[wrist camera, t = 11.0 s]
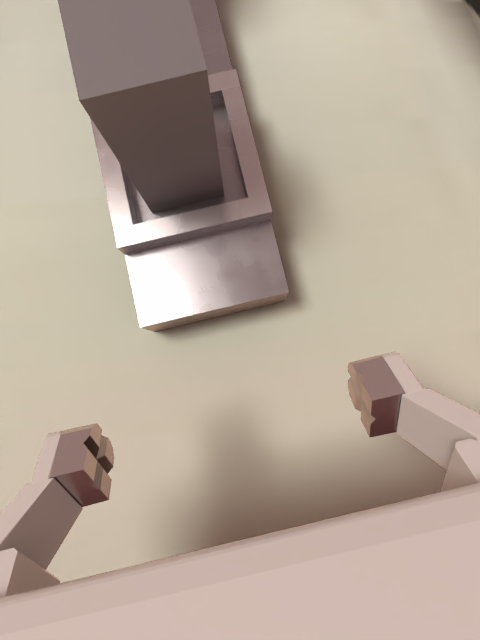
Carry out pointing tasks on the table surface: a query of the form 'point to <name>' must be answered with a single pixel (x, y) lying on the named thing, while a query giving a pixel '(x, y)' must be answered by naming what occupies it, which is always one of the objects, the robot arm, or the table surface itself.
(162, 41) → the block
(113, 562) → the table surface
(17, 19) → the table surface
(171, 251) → the grey base with post
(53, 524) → the robot arm
